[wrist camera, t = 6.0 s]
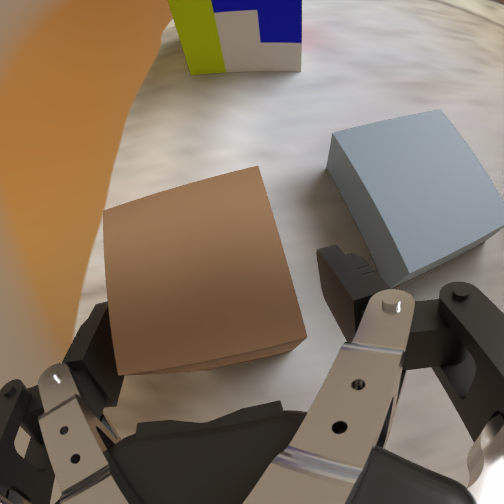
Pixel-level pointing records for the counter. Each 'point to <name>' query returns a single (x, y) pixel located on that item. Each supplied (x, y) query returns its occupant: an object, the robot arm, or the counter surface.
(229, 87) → the counter surface
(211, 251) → the walnut block
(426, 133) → the slate plinth
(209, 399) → the counter surface
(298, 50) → the puzzle toy
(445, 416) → the counter surface
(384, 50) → the counter surface
